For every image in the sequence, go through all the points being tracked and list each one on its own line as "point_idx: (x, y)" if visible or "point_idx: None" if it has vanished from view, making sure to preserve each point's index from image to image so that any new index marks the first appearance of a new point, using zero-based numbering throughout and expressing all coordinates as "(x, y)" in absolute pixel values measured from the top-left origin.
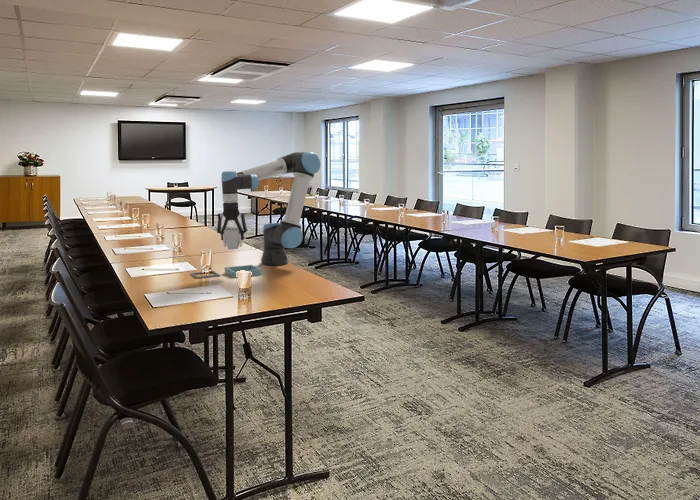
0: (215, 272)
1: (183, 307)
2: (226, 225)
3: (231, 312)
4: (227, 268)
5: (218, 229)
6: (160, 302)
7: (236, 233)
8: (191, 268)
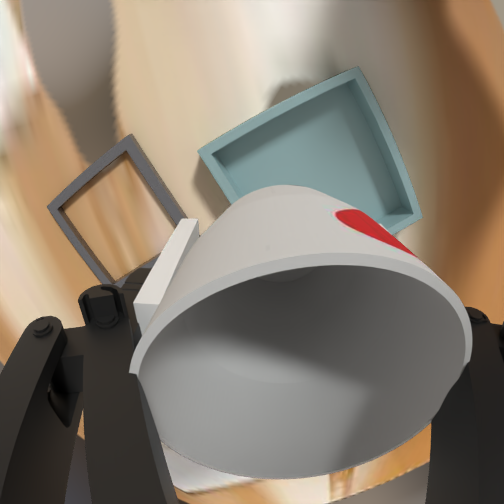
0: (155, 181)
1: (237, 495)
2: (161, 474)
3: (321, 499)
4: (226, 190)
5: (62, 420)
6: (180, 480)
7: (375, 409)
8: (10, 56)
